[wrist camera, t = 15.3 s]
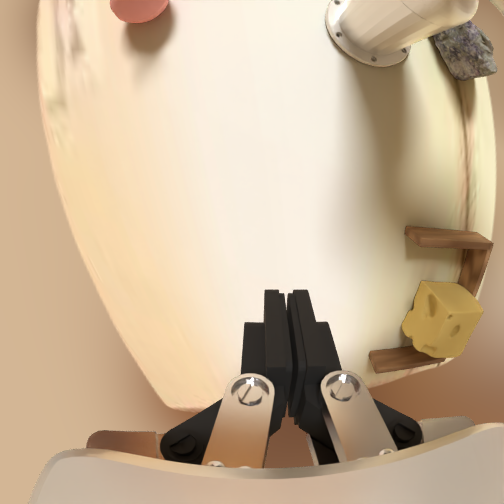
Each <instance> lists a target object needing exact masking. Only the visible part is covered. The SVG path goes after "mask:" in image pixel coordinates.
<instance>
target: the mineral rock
mask: <svg viewBox="0 0 504 504" xmlns="http://www.w3.org/2000/svg"><path fill="white" fill-rule="evenodd" d="M433 37H434V39H435V45H436V46H437V47H438V49H439V50H440V54H441V56H442V58H443V59H444V61H445V62H446V64H447V66H448V68H449V70H450V72H451V74H452V75H453V76H454V78H456V79H458V80H463V81H465V80H468V79H473V78H478V77H484V76H489V75H492V74H494V73H496V72H497V67H496V64H495V61H494V59H493V46H492V44H491V42H490V40H489V38H488V37H487V36H486V35H485V34H484V33H483V31H482V30H481V29H479V28H478V27H477V26H475V25H474V24H473V23H472V22H471V21H470V20H469V21H468V22H466V23H464V24H462V25H459V26H456V27H454V28H451V29H448V30H446V31H443V32H440V33H438V34H435V35H433Z"/></svg>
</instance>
